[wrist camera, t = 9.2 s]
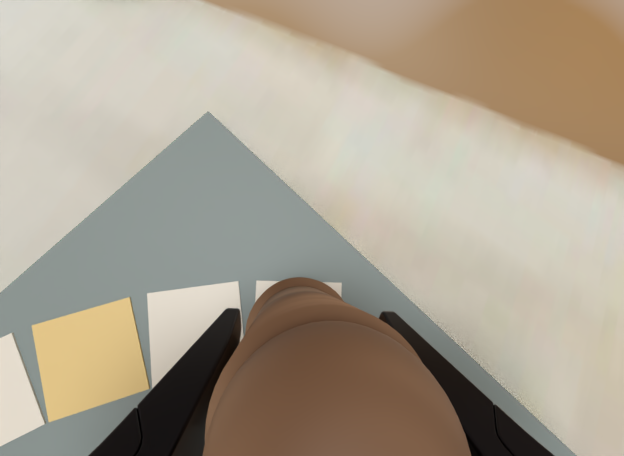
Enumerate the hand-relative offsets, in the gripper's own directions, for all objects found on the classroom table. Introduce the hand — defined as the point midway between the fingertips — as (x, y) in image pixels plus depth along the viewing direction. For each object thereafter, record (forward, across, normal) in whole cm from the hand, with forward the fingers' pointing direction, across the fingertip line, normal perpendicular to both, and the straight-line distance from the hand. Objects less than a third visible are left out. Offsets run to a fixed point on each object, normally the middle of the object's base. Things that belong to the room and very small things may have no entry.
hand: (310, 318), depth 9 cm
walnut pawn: (+4, 0, -6) cm, 7 cm away
